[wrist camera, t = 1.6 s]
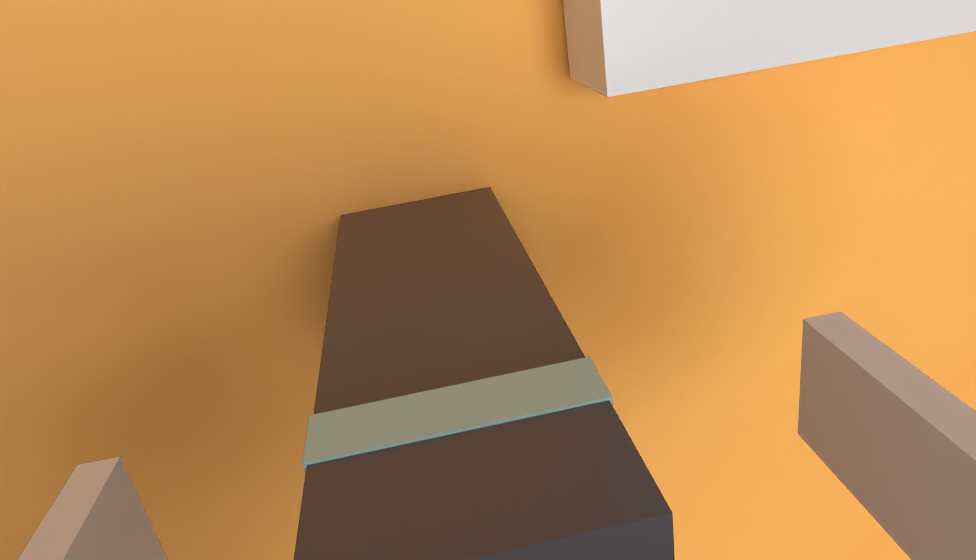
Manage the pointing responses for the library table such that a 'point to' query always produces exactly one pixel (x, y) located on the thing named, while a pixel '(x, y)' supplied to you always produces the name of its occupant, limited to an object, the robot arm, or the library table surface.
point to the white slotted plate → (737, 35)
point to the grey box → (463, 406)
